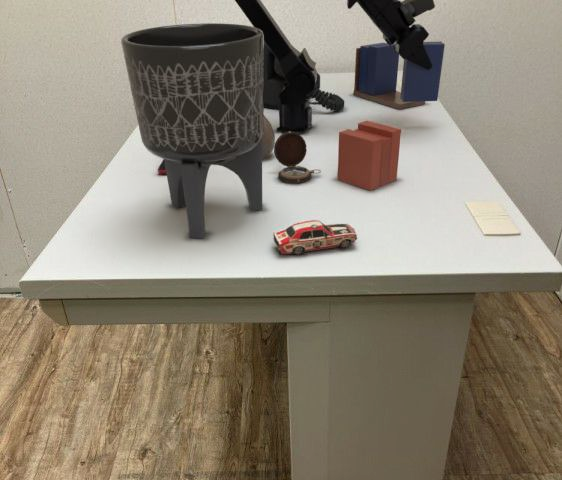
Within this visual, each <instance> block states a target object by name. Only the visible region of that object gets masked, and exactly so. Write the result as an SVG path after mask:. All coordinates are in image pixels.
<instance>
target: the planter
mask: <svg viewBox="0 0 562 480" xmlns="http://www.w3.org/2000/svg"><path fill="white" fill-rule="evenodd" d="M120 39H121V40H120V42H121V43H120V44H121V49H122V53H123V58H124V63H125V67H126V72H127V76H128V82H129V86H130V91H131V96H132V101H133V105H134V111H135V115H136V119H137V124H138V129H139V134H140V139H141V143H142V145H143V146H144V148H145V150H146V151H148V152H149V153H150V154H152V155H153V156H155V157H156V158H157V157H158V158H160V159H162V160H163V159H164V162H165V168H166V173H167V174H166V178H167V185H168V189H169V191H168V192H169V195H170V196H169V197H170V203H171V206H172V207H175V208H178V209H180V208H182V207H184V206H185V211H186V216H187V223H188V230H189V237H190V239H204V237H205V236H206V222H205V220H206V219H205V218H206V217H205V196H206V195H205V193H206V186H207V185H206V183H207V178H208V174H209V170H210V168H211V166H221V167H223V168H226V169H228V170H229V171H231V172H232V173H234V174H235V175H236V176H237V177H238V178H239V179H240V182H241V183H242V185H243V187H244V190H245V193H246V197H247V203H248V207H249V209H250V211H252V212H257V211H258V212H259V211H263V159H262V137H263V114H264V108H265V107H264V34H263V32H262V31H261V30H260V29H258V28H256V27H254V26H253V25H252V26H251V25H245V24H239V23H238V24H236V23H235V24H234V23H219V22H218V23H213V22H211V23H209V22H208V23H205V22H204V23H185V24H172V25H163V26H156V27H150V28H144V29H139V30H135V31H132V32H130V33H126V34H124V36H123V37H122V38H120ZM264 115H265V114H264Z"/></svg>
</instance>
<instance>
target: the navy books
mask: <svg viewBox="0 0 562 480" xmlns="http://www.w3.org/2000/svg"><path fill="white" fill-rule="evenodd" d="M395 45H396V44H395V43H393V44H392V45H391V46H389V45H388V44H387V42H377V43H370V44H365V45H360V47H359V48H360V65H359V84H358V91H360V92H363V93H366V94H370V95H373V96H375V95H380V94H385V93H390V92H396V91H397V87H398V86H397V85H398V83H397V82H398V72H399V62H400V55H399V54H398V52H396V51H395V50H394V49H393V47H394V46H395Z"/></svg>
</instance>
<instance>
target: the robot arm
mask: <svg viewBox="0 0 562 480" xmlns="http://www.w3.org/2000/svg"><path fill="white" fill-rule="evenodd" d="M234 2H235V3H236V4H237V5H238V8H239V9H240V10H241V12H242V13H243V14H244V15H245V16H246V18H247V20H248V21H249V22H250V23H251V25H252V27H256V28H258V29H260V30H261V31H262V32H263V34H264V42H265V43H266V45H267V46H268V47H269V49H270V50H271V52H272V53H273V54H274V56H275V57H276V58H277V60H278V62H279V65H280V67H281V70H282V72H283V75H284V77H285V79H286V81H287V82H286V83H285V84H284V85H283V87H282V90H281V92H280V94H279V98H280V100H279V109H278V122H279V123H278V125H279V126H278V127H277V128H276V130H275V131H276V132H281V133H286V132H289V131H291V132H295V133H298V134H304V133H306V132H307V131H308V130H310V128H312V127H313V107H312V106H311V99H310V98H305V97H306V95H308V94H310V93H311V92H312V91H313V89H314V87H315V84H316V80H317V73H318V71H317V68H316V66H317V62H315V61H314V60H313V59H312V58H311V57H310V55H309V52H308V50H307V49H306V48H305V47H304V48H302V50H301V51H299V50H298V48H297V49H296V47H294V45H292V43H291V42H290V40H289V39H288V37H287V36H286V35H285V32H283V30H282V29H281V27H280V26H279V25H278V23H277V22H276V21H275V20H276V19H274V17H273V16H272V15H271V13H270V12H269V10H268V9H267V8H266V6H265V5H264V3H263V1H262V0H234ZM355 4H358V5H359V6H360V8H361V9H362V10H363V12H364V13H365V14H366V15H367V16H368V18H369V19H370V21H371V22H372V23H373V24H374V26H375V27H377V29H378V30H379V31H380V32H381V33H382V39H383V40H384V41H385V43H387V44H388V45H389V46H391V45H392V44H393V43H395V44H396V45H395V46H394V47H393V49H394V50H395V51H396V52H398V54H399V57H400V58H402V59H403V61H404V60H405V59H406V60H409V61H411V62H413V63H415V64H417V65H419V66H421V67H423V68H425V69H427V70H430V69H431V68H432V63H431V61H430V59H429V57H428V55H427V52H426V50H425V48H424V45H423V42H425V40H427V39H428V37H429V35H430V33H429V32H428V31H427V29H426V28H425V27H424V26H423V25H421V24H419V23H418V24H417V23H416V21H417V20H416V19H415V18H416V17H419V16H420V15H422V14H424V13H426V12H428V11H429V12H430V11H432V10H434V9H435V8H436V4H435V1H434V0H402V1H401V0H346V6H347V9H349V10H350V9H352V8H353V7H354V6H355Z"/></svg>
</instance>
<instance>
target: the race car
mask: <svg viewBox="0 0 562 480" xmlns="http://www.w3.org/2000/svg"><path fill="white" fill-rule="evenodd" d="M272 239H273V242H274V243H275V245H276V247H277V250H278V251H279V252H280V253H281V254H283V255H287V254H288V255H289V254H293V255H296V256H299V255H303V254H304V253H305V252H312V251H319V250H327V249H333V248H338V247H340V249H342V250H347V248H349V247H350V245H351V243H354V242H356V241H357V240H358V235H357V232H356V229H355V228H354V227H352V226H351V225H350V224H349V223H329V224H324V223H323V222H322V221H320V220H315V219H313V220H307V221H306V220H305V221H301V222H297V223H294V224H292V225H290V226H288V227H287V228H286V229H283V230H281V231H277V232H273V237H272Z"/></svg>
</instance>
